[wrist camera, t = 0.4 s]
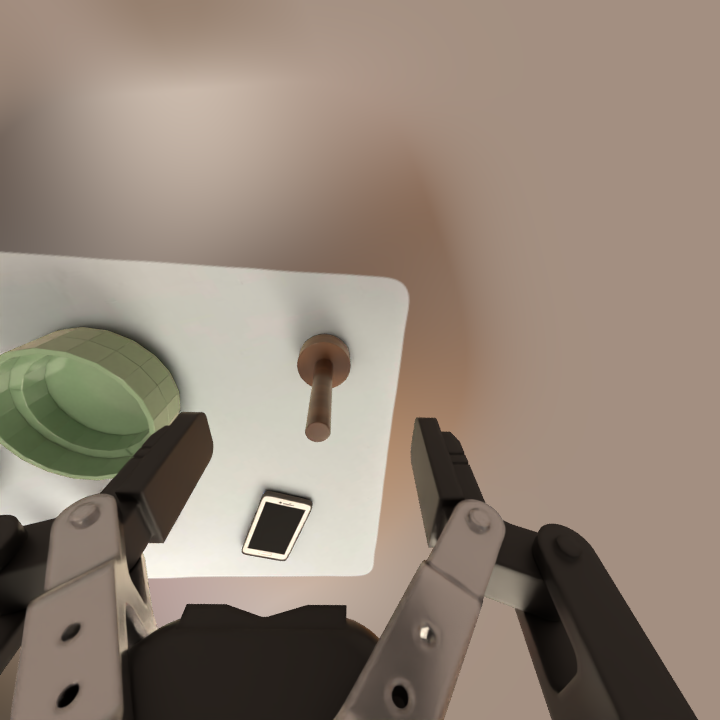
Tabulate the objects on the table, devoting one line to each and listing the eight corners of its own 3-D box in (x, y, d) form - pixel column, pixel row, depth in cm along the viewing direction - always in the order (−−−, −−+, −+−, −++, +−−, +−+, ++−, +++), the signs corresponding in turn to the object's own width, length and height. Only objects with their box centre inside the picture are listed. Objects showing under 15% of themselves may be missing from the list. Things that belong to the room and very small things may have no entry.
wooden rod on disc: (294, 338, 36) (270, 407, 23) (345, 330, 36) (349, 395, 23) (305, 382, 38) (289, 465, 26) (352, 375, 38) (360, 455, 26)
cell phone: (241, 548, 51) (239, 554, 50) (264, 488, 45) (263, 493, 45) (286, 556, 53) (285, 562, 52) (314, 499, 47) (313, 505, 46)
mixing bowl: (2, 336, 33) (-69, 363, 28) (149, 314, 33) (108, 336, 27) (81, 449, 40) (38, 489, 35) (202, 431, 40) (179, 468, 35)
